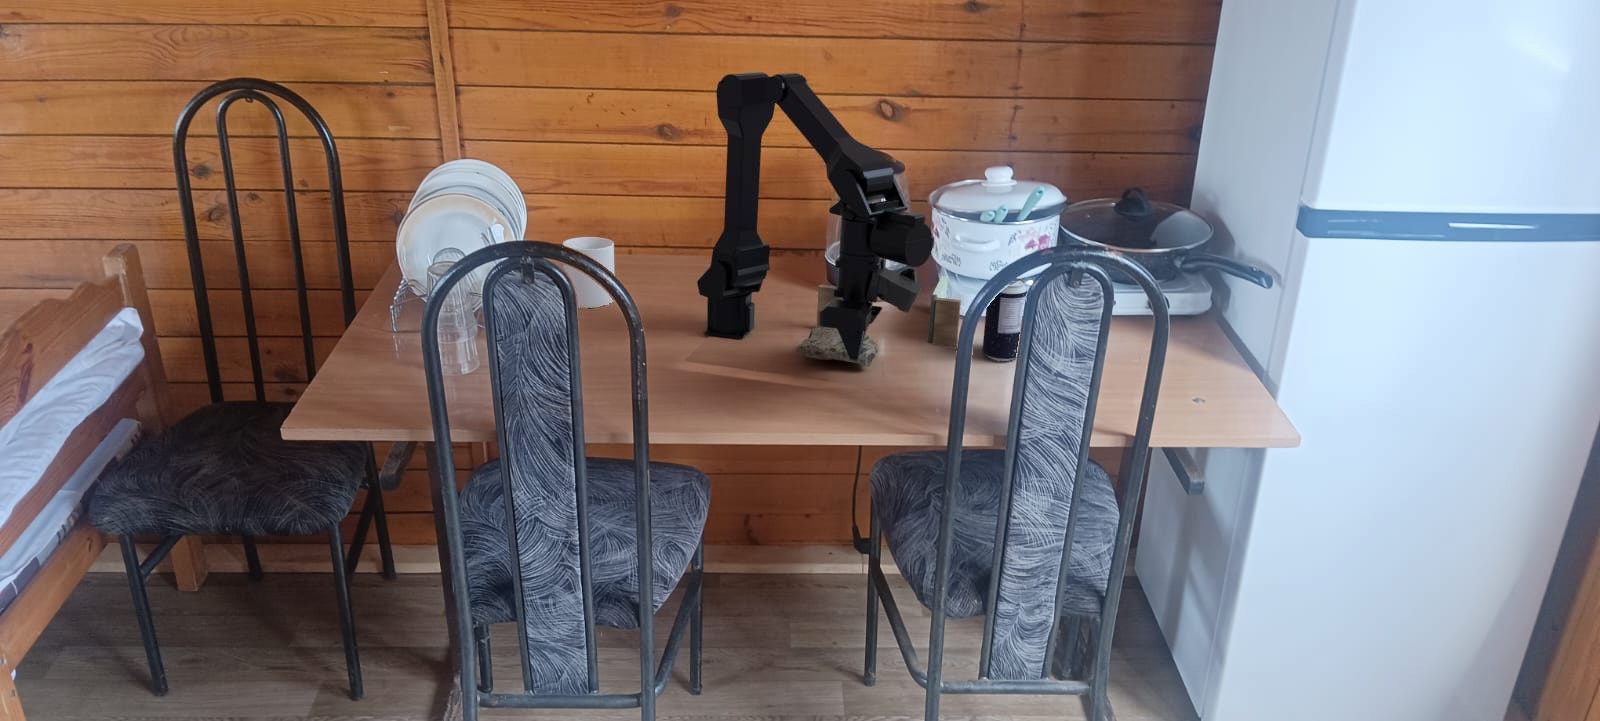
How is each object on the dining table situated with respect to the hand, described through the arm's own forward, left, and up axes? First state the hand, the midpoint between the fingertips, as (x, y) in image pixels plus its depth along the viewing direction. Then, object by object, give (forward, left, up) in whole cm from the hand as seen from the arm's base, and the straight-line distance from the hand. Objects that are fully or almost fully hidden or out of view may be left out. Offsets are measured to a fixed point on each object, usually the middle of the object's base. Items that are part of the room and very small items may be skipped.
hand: (854, 358), depth 162 cm
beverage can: (+19, +16, -3) cm, 25 cm away
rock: (+1, +5, -4) cm, 7 cm away
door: (+8, +18, -3) cm, 20 cm away
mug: (-49, +21, -3) cm, 54 cm away
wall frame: (+8, +18, -3) cm, 20 cm away
